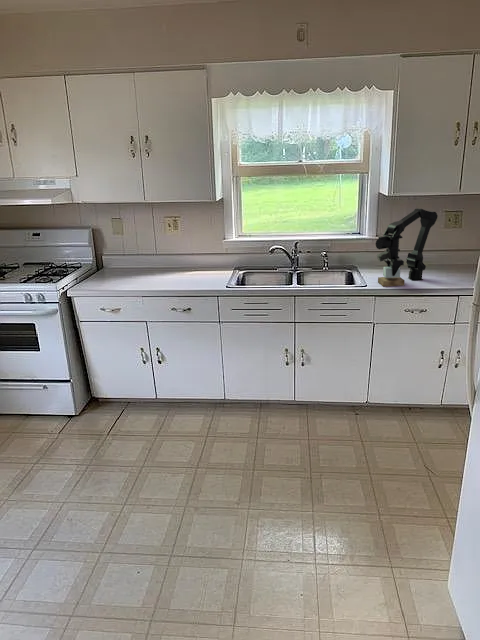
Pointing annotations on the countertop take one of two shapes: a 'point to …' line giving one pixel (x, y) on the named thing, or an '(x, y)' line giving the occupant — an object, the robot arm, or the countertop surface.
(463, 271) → the countertop surface
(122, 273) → the countertop surface
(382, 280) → the walnut stand
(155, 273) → the countertop surface
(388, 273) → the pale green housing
